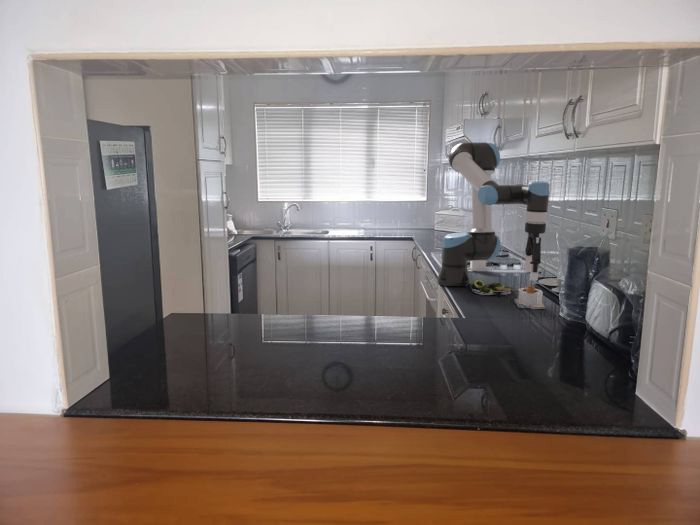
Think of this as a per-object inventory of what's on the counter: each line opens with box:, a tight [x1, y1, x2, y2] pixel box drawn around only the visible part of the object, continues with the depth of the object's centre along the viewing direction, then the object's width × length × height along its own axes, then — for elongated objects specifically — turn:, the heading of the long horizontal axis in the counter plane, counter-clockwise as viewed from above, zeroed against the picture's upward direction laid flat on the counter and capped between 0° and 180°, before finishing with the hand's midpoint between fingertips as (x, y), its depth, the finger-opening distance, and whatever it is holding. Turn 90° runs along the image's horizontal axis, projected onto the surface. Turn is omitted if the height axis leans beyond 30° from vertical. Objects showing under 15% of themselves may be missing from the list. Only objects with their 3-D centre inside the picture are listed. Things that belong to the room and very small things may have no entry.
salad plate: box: [469, 278, 516, 295], centre depth 222 cm, size 19×18×5 cm
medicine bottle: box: [469, 260, 487, 272], centre depth 264 cm, size 7×7×12 cm
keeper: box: [514, 284, 546, 309], centre depth 200 cm, size 10×10×8 cm
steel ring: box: [516, 287, 544, 306], centre depth 200 cm, size 9×9×5 cm
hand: (530, 275), depth 199 cm, fingers open, 13 cm apart
